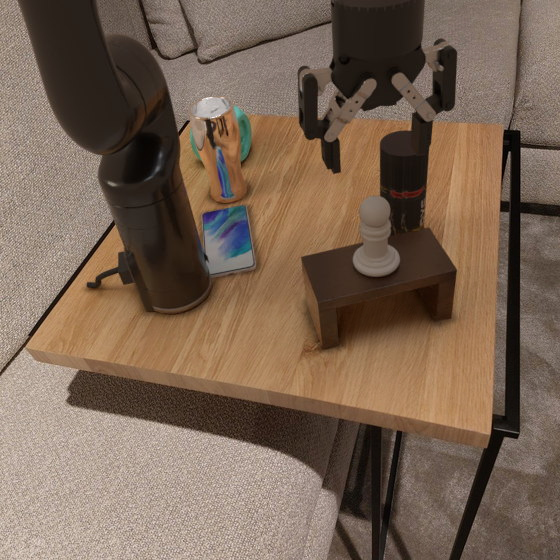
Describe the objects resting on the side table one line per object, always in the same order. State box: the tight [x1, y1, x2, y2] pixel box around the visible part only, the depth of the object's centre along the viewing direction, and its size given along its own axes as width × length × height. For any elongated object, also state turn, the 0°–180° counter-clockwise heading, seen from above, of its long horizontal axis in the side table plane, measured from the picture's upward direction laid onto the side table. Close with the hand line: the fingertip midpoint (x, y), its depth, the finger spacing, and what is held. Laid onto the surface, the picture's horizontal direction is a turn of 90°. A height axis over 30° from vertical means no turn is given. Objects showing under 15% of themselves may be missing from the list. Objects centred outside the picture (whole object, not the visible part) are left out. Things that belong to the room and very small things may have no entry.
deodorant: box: [379, 130, 430, 236], centre depth 77 cm, size 6×6×15 cm
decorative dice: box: [189, 104, 252, 163], centre depth 100 cm, size 8×8×8 cm
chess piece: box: [353, 195, 400, 277], centre depth 64 cm, size 5×5×9 cm
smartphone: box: [201, 204, 257, 279], centre depth 86 cm, size 7×1×15 cm
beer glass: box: [188, 95, 248, 204], centre depth 90 cm, size 7×7×15 cm
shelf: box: [300, 226, 458, 350], centre depth 70 cm, size 16×8×8 cm, turn 102°
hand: (376, 160), depth 58 cm, fingers open, 8 cm apart
